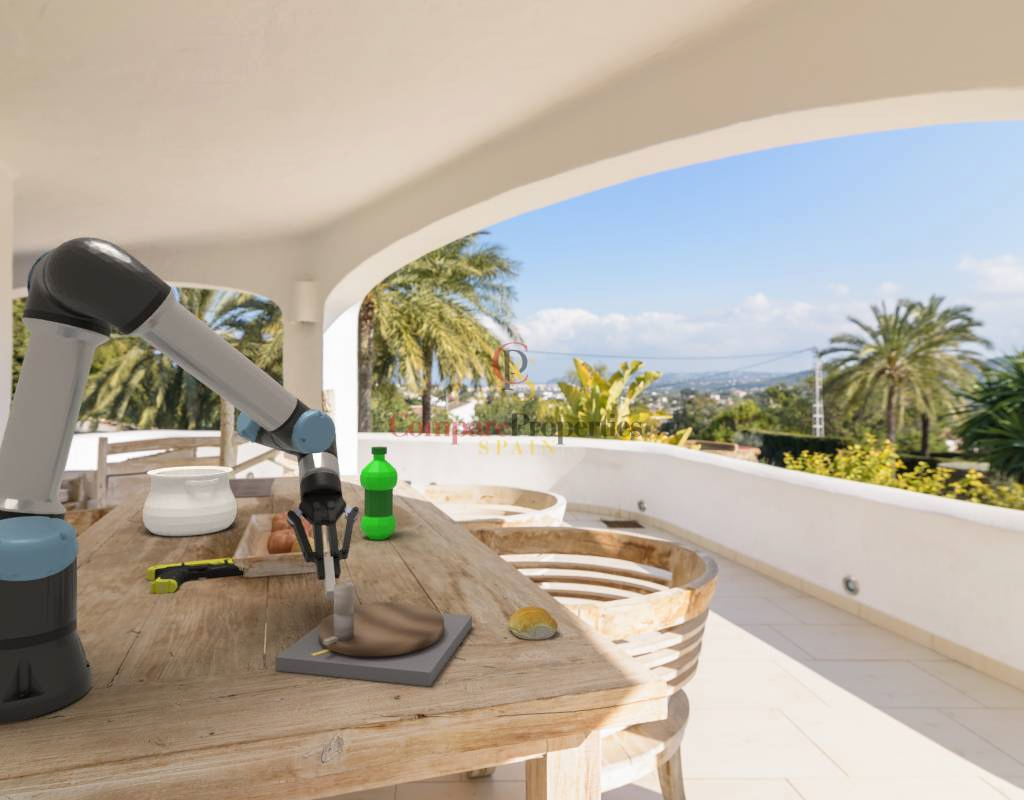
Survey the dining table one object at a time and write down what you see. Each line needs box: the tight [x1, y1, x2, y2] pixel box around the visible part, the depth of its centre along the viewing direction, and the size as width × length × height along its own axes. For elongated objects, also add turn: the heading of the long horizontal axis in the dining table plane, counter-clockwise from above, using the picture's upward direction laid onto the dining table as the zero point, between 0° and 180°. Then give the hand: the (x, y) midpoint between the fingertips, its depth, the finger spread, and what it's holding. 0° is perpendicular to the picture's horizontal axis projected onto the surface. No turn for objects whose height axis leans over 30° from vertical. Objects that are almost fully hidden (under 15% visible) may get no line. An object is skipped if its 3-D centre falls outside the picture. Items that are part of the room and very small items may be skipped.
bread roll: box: [508, 606, 559, 641], centre depth 118 cm, size 8×9×4 cm
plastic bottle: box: [359, 446, 398, 541], centre depth 186 cm, size 10×10×25 cm
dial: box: [318, 581, 444, 657], centre depth 109 cm, size 22×20×10 cm
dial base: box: [275, 612, 473, 687], centre depth 109 cm, size 24×24×2 cm
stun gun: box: [146, 557, 244, 595], centre depth 144 cm, size 3×19×15 cm
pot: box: [142, 465, 238, 537], centre depth 193 cm, size 26×24×17 cm
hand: (330, 594), depth 113 cm, fingers closed
